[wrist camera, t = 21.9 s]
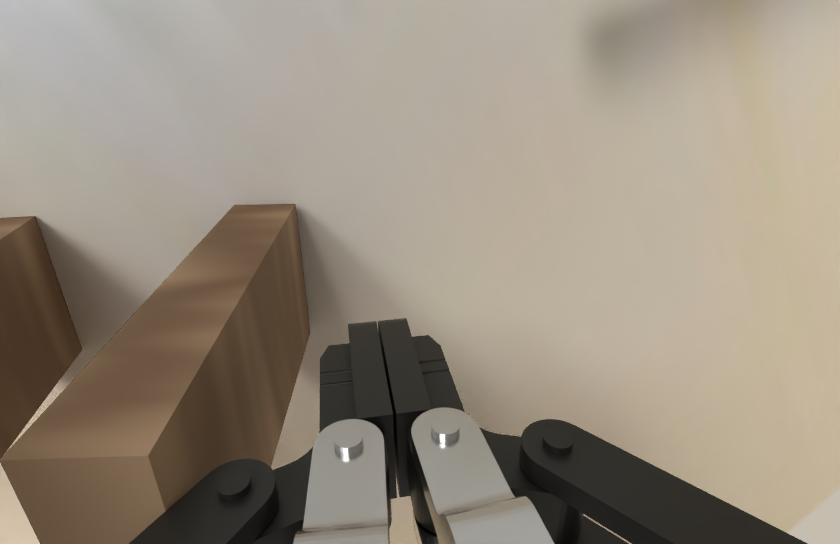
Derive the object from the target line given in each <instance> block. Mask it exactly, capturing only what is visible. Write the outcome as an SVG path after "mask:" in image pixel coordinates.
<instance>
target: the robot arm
mask: <svg viewBox="0 0 840 544" xmlns="http://www.w3.org/2000/svg"><path fill="white" fill-rule="evenodd" d="M348 329H349V341H350V344H341V345H331V346H328V348H327V349H326V351H325V352H324V354H323V355H322V357H321V358H320V431H319V434H318V436H317V437H316V439H315V441H314V445H313V447H312V449H311V450H310V451H309V452H308V453H306V454H305V455H304V456H303V457H301V458H299V459H298V460H296V461H294V462H292V463H290V464H287V465H285V466H282V467H280V468H277V469H275V470H272V469H271V467H269V466H268V465H267V464H266V463H264V462H262V461H259V460H256V459H238V460H234V461H230V462H228V463H225V464H223V465H221V466H219V467H217V468H216V469H214V470H212V471H211V472H210V473H209V474H207V475H206V476H205V477H204V478H203V479H202V480H201V481H199V482H198V483H197V484H196V485H195V486H194V487H193V488H191V489H190V490H189V491H188V492H187V493H186V494H185V495H183V496H182V497H181V498H180V499H179V500H178V501H177V502H175V503H174V504H173V505H172V506H171V507H170V508H169V509H167V510H166V512H164V513H163V514H162V515H161V516H160V517H158V518H157V519H156V520H155V521H154V522H153V523H152V524H150V525H149V526H148V527H147V528H146V529H145V530H144V531H142V532H141V533H140V534H139V535H138V536H137V537H136V538H134V539H133V540H132V541H131V542H130V543H129V544H390V538H389V528H390V525H391V520H392V519H391V499H393V498H397V493H396V477H397V483H398V490H399V496H400V497H405V496H411V500H412V506H413V522H414V531H415V535H416V539H417V543H418V544H628V543H627V542H625V541H623V540H622V539H620V538H619V537H617V536H615V535H614V534H612V533H610V532H609V531H607V530H606V529H604V528H602V527H601V526H599V525H597V524H596V523H594V522H593V521H591V520H589V519H588V518H586V517H585V516H583V514H585V515H587V516H588V517H590V518H592V519H593V520H595V521H596V522H598V523H600V524H601V525H603V526H605V527H606V528H608V529H609V530H611V531H613V532H614V533H616V534H618V535H619V536H621V537H622V538H624V539H626V540H627V541H629V542H631V543H632V544H807V543H805V542H803V541H801V540H799V539H797V538H795V537H793V536H791V535H789V534H788V533H786V532H784V531H782V530H780V529H778V528H776V527H774V526H772V525H770V524H768V523H766V522H764V521H762V520H760V519H758V518H756V517H754V516H752V515H750V514H748V513H746V512H744V511H742V510H740V509H738V508H736V507H734V506H732V505H730V504H728V503H726V502H724V501H722V500H721V499H719V498H717V497H715V496H713V495H711V494H709V493H707V492H705V491H703V490H701V489H699V488H697V487H695V486H693V485H691V484H689V483H687V482H685V481H683V480H681V479H679V478H677V477H675V476H673V475H671V474H669V473H667V472H665V471H663V470H661V469H659V468H657V467H655V466H654V465H652V464H650V463H648V462H646V461H644V460H642V459H640V458H638V457H636V456H634V455H632V454H630V453H628V452H626V451H624V450H622V449H620V448H618V447H616V446H614V445H612V444H610V443H608V442H606V441H604V440H602V439H600V438H598V437H596V436H594V435H592V434H590V433H588V432H586V431H585V430H583V429H581V428H579V427H577V426H575V425H572V424H570V423H568V422H564V421H560V420H553V419H547V420H540V421H537V422H534V423H532V424H530V425H529V426H528V427H526V429H525V430H524V432H523V434H522V437H517V436H509V435H501V434H495V433H492V432H488V431H486V430H484V429H482V428H480V427H479V426H478V424H477V422H476V421H475V420H474V419H473V417H471V416H470V415H469V414H467V413H465V411H464V409H463V406H462V403H461V401H460V398H459V395H458V393H457V390H456V387H455V384H454V382H453V379H452V376H451V373H450V372H449V368H448V365H447V363H446V361H445V357H444V354H443V352H442V349H441V346H440V345H439V344H438V343H437V342H435V341H434V340H433V339H432V338H431V337H430V336H429V335H426V336H416V337H412V336H411V333H410V329H409V326H408V322H407V319H406V318H404V319H394V320H384V321H378V329H377V323H376V321H375V322H365V323H355V324H348Z"/></svg>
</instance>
